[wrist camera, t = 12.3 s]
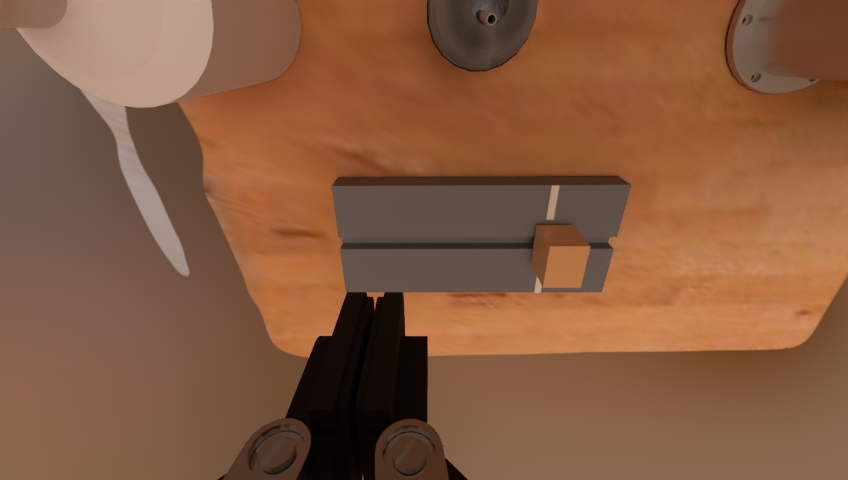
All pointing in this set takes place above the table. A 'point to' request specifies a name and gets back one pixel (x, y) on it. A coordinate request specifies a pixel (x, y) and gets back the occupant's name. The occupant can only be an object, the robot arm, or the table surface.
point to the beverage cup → (480, 30)
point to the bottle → (159, 44)
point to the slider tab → (559, 256)
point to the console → (469, 230)
